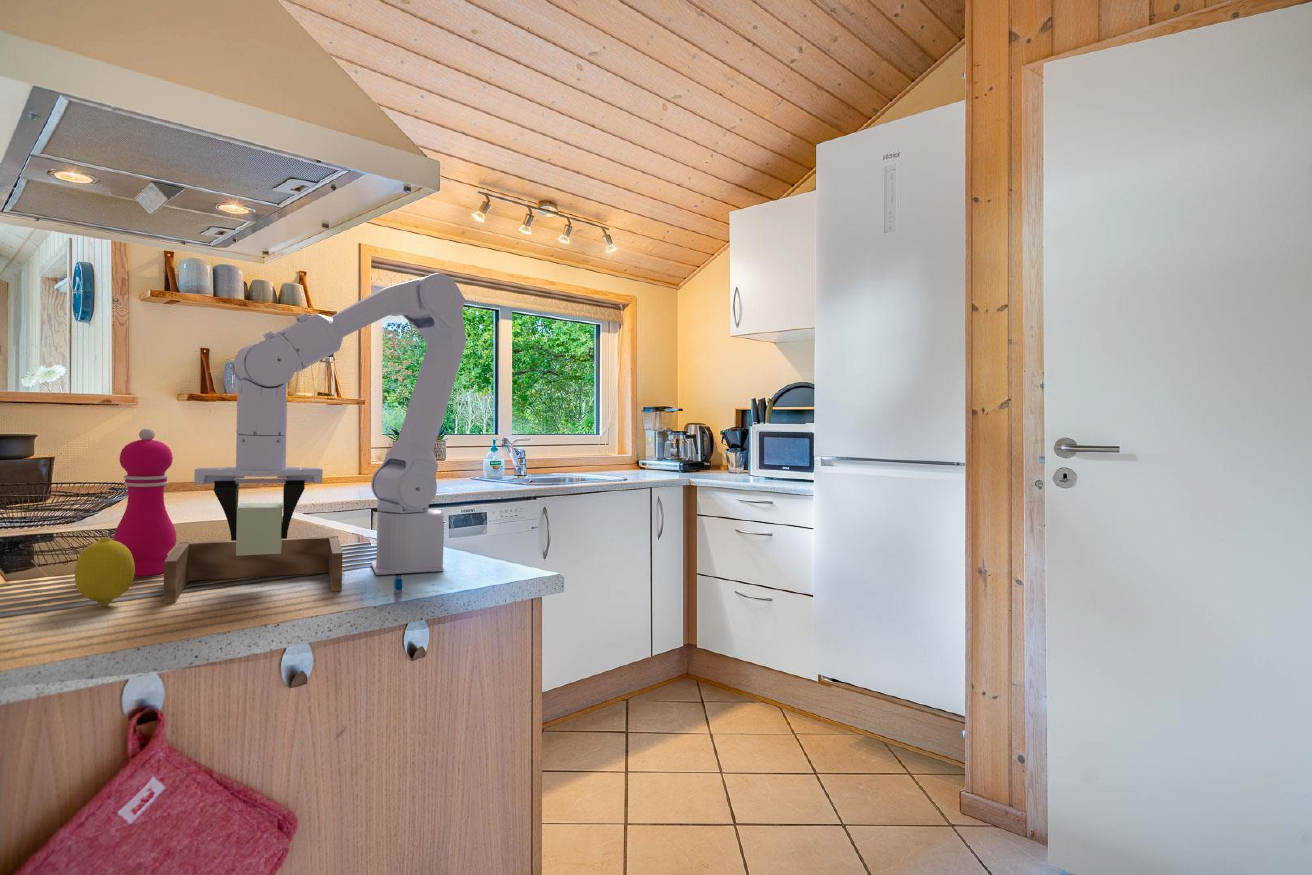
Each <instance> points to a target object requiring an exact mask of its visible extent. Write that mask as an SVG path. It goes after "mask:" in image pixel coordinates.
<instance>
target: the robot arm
mask: <svg viewBox="0 0 1312 875" xmlns="http://www.w3.org/2000/svg"><path fill="white" fill-rule="evenodd" d="M465 302H466V299H465V297H464V294H462V291H461V290H460V288H459V287H458V285H457V283H456V282H455V281H454V279H453V278H452V277H450V276H448V275H446V274H444V273H440V272H438V273H432V274H429V275H427V276H423V277H419V278H417V279H416V278H415V279H414V278H413V279H410V278H409V279H408V280H404V281H403V282H401V283H396V284H393V285H390V286H387V287H384V288H381V289H379V290H377V291H375V292H374V293H371V294H370V295H368V296H366V297H364V298H362V299H360V300H358V301H356V302H355V303H353V304H350V306H348V307H345V308H344V309H343V310H340V311H339V312H337V313H335V314H333V315H331V316H326V315H323V314H320V313H313V314H311V315H309V314H308V313H302V314H299V315H298V316H296V317H295V320H296V321H297V322H294V323H293V324H291V325H289V326H287V327H284V328H283V329H281V330H279V331H276V332H275V333H274V332H273V331H268V332H266V333H264V334H263V338H264V340H261V341H259V342H257V343H250V344H246V345H245V346H243V347H242V348H240V349H239V350H238V352H237V354H236V355H235V356H234V359H233V362H231V364H230V366H231V370H232V373H233V375H234V377H235V379H237V380H238V382H237V383H238V385H237V386H238V387H237V390H238V391H237V398H236V442H235V443H236V447H235V448H236V451H235V457H236V458H235V466H232V467H231V466H229V467H227V466H226V467H225V466H224V467H223V466H222V467H196V468H194V478H193V480H194V485H205V484H212V485H213V484H214V485H213V491H214V494H215V497H216V498H217V500H218V502H219V504H220V506H221V508H222V510H223V512H224V514H225V517H226V520H227V525H228V528H229V531H230V532H229V534H230V538H231V539H230V540H231V541H236V530H237V507H238V506H239V491H240V490H239V489H240V484H283V486H282V487H283V489H282V491H283V495H282V496H283V498H282V500H283V504H282V528H281V539H287V538H288V532H289V526H290V523H291V520H292V517H293V514H294V511H295V509H296V508H297V504H298V502H299V500H300V499H301V496H302V495H303V493H304V490H305V486H306V485H305V484H310V483H311V484H323V474H324V472H323V471H324V469H323V467H294V466H293V467H292V466H288V467H287V466H286V465H287V424H288V423H287V422H288V417H287V416H288V400H287V394H288V392H287V391H288V389H287V388H288V386H287V384H288V383H289V382H290V381H291V380H292V378H293V377H294V375H295V373H299V372H301V371H304V370H305V369H307V368H309V367H311V366H312V365H315V364H316V363H318V362H320V361H322V360H324V359H326V358H328V357H329V356H331V355H333V354H335V353H337V352H339V351H340V349H341V346H342V343H343V339H344V337H346V336H349V335H351V334H352V333H355V332H357V331H359V330H362V329H363V328H366V327H367V326H369V325H372V324H374V323H375V322H377V321H380V320H382V319H384V318H386V317H388V316H391V317H392V316H393V317H399V316H402V317H403V318H405V319H406V320H407V321H408V322H409V323H410V325H412V327H414V328H415V329H416V330H417V331H418V332H419V334H420V335H421V336H422V338H423V339H424V342H425V343H426V345H427V347H426V349H425V352H424V356H423V359H422V361H421V366H420V368H419V372H418V375H417V378H416V381H415V384H414V387H413V391H412V394H411V397H410V401H409V403H408V406H407V410H406V413H405V417H404V419H403V422H402V426H401V429H400V432H399V435H398V438H397V441H396V442H395V444H394V445H393V446H392V447H391V448H390V449H389V450H388V451H387V452H386V454H385V457H384V460H383V462H382V464H381V465H380V466H379V467H378V468H377V469H376V470H375V472H374V473H373V475H372V477H371V481H370V484H371V485H370V486H371V491H372V494H373V496H374V497H375V498H376V499H378V505H377V511H376V512H377V514H376V515H377V516H376V550H375V551H376V556H375V557H376V558H375V560H372V561H370V565H371V568H372V570H373V572H374V574H375V575H376V576H382V575H385V576H386V575H395V574H396V575H398V574H399V575H401V574H413V573H414V574H415V573H417V574H418V573H428V572H431V573H432V572H443V571H444V570H445V569H444V539H445V538H444V537H445V536H444V534H445V524H444V520H445V519H444V515H443V512H442V510H441V509H439V508H438V509H431V508H429V505H430V504H432V502H433V501H434V499H435V497H436V496H437V495H436V494H437V490H438V484H437V471H438V468H439V463H438V460H437V458H436V455H435V453H434V450H435V445H436V443H437V439H438V437H439V434H440V430H441V427H442V424H443V420H444V417H445V413H446V410H447V408H448V403H449V400H450V397H451V395H452V390H453V387H454V384H455V382H456V378H457V375H458V371H459V368H460V365H461V362H462V358H463V354H464V351H465V348H466V345H467V344H466V343H467V336H466V335H467V334H466V329H465V323H464V322H465V320H464V314H463V309H464V306H465ZM245 477H247V478H245ZM249 477H250V478H249ZM252 477H254V478H252ZM255 477H257V478H255ZM267 477H269V478H267ZM270 477H276V478H270Z"/></svg>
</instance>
